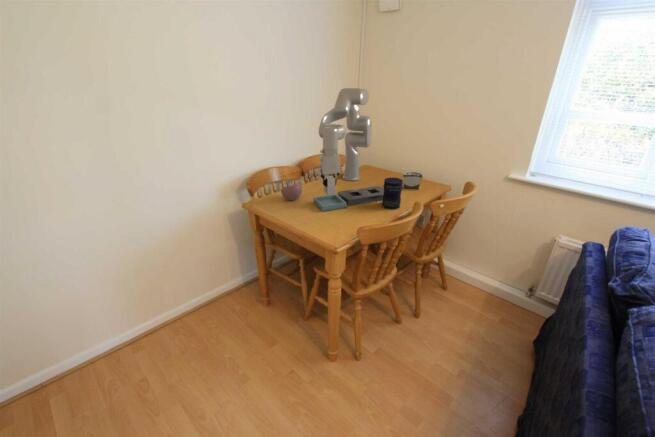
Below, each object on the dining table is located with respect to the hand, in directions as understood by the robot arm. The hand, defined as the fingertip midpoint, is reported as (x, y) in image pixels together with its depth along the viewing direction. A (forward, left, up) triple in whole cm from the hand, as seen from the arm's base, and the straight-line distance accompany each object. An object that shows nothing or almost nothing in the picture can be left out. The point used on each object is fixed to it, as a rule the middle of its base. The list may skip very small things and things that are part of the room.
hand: (329, 185), depth 164 cm
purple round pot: (-16, -17, -12) cm, 26 cm away
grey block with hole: (-2, +23, -12) cm, 26 cm away
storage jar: (+14, +31, -12) cm, 36 cm away
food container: (-6, +59, -12) cm, 61 cm away
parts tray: (0, 0, -12) cm, 12 cm away
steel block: (0, 0, -5) cm, 5 cm away
